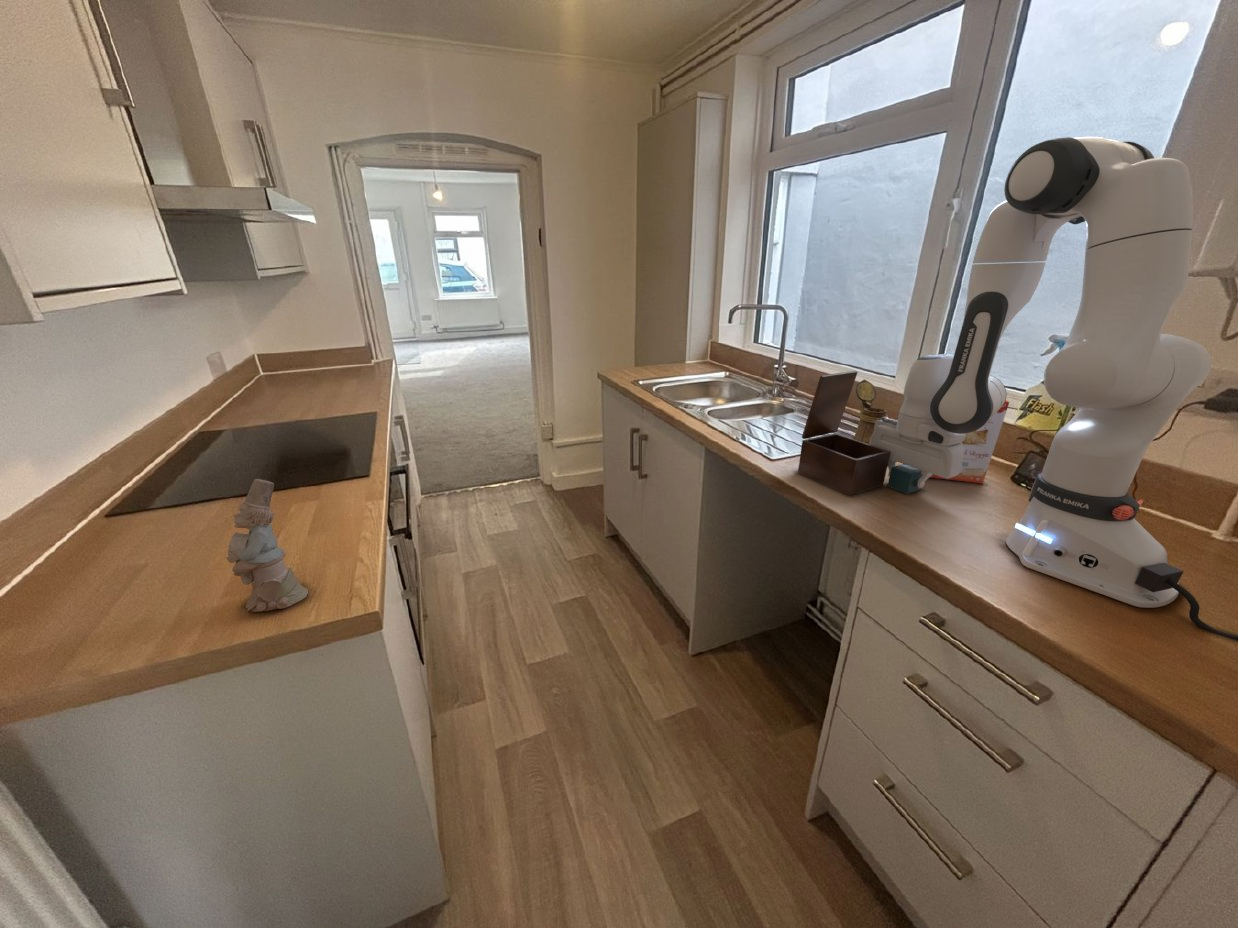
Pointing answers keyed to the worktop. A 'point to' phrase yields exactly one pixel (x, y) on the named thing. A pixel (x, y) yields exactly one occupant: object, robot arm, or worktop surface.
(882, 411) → the wooden mug
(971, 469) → the cracker box
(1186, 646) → the worktop surface
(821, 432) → the lid
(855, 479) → the chest
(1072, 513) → the robot arm
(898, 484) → the block
